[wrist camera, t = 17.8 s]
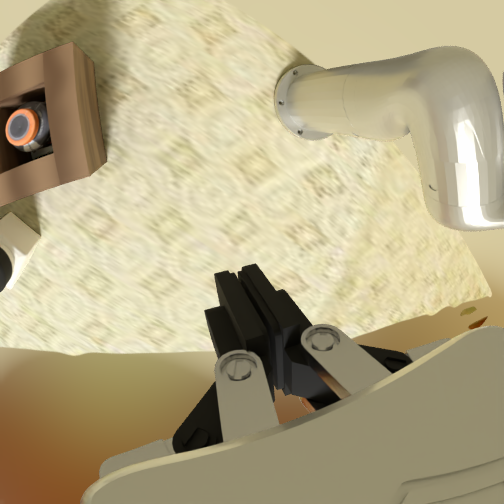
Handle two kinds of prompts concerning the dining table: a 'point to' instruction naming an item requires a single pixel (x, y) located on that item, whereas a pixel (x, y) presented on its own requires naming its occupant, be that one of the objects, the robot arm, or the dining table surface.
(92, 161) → the wooden box holder
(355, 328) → the dining table surface
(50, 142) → the pill bottle
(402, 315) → the dining table surface
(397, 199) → the dining table surface
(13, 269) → the medicine bottle
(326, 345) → the robot arm
